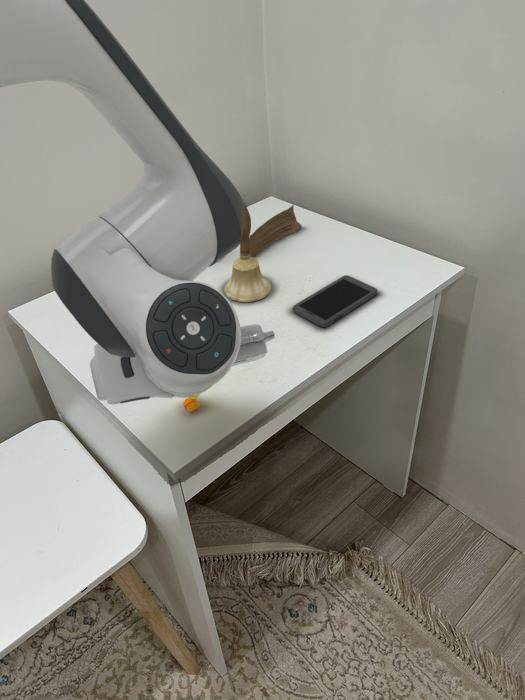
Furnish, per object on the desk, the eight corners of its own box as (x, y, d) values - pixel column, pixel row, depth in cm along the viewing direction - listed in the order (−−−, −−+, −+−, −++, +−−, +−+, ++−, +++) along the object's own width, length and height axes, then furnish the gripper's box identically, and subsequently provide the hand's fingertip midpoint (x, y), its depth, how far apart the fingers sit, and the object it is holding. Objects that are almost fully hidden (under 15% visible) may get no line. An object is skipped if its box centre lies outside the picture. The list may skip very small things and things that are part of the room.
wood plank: (255, 261, 103) (253, 237, 100) (247, 258, 104) (245, 234, 101) (301, 228, 112) (300, 206, 109) (292, 226, 113) (292, 204, 110)
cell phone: (379, 293, 92) (379, 289, 92) (323, 329, 85) (323, 325, 85) (346, 277, 97) (346, 274, 96) (290, 310, 90) (290, 307, 89)
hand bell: (248, 272, 100) (241, 188, 90) (281, 287, 96) (277, 202, 85) (214, 291, 96) (203, 205, 86) (246, 308, 91) (238, 220, 81)
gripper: (270, 303, 59) (250, 326, 72) (77, 347, 55) (94, 363, 68) (286, 359, 58) (262, 372, 72) (92, 409, 54) (105, 412, 67)
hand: (179, 367), depth 70 cm, fingers closed on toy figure, 5 cm apart
